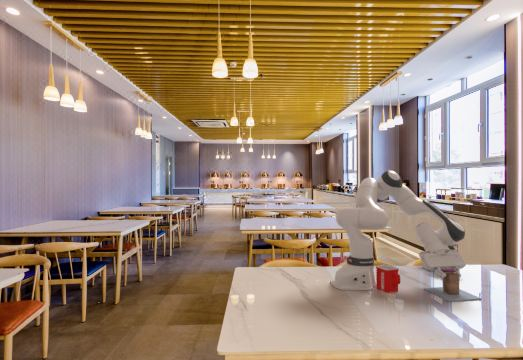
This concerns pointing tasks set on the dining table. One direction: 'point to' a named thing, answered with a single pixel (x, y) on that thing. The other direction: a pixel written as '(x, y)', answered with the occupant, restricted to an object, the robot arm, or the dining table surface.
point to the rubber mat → (451, 298)
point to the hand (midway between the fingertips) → (452, 277)
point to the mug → (387, 278)
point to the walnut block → (451, 283)
